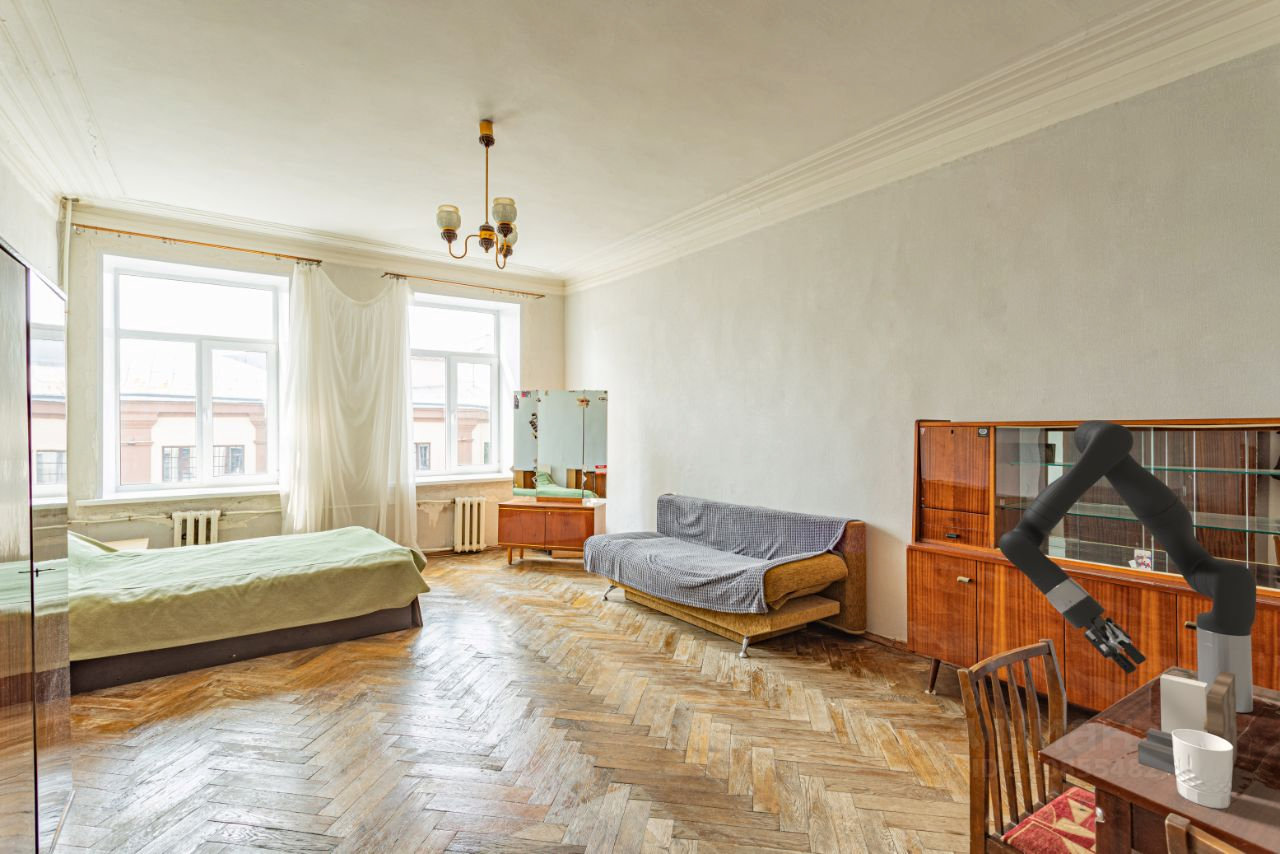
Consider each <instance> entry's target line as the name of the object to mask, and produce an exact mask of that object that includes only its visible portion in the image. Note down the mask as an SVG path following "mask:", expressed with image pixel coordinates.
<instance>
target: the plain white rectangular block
mask: <svg viewBox="0 0 1280 854" xmlns="http://www.w3.org/2000/svg"><path fill="white" fill-rule="evenodd" d="M1159 678H1160V679H1159V681H1160V682H1159V683H1160V685H1159V686H1160V718H1161V719H1160V720H1161V721H1160V724H1161V726H1160V727H1161V731H1163V732H1167V733H1170V734H1172V731H1174V730H1177V729H1190V730H1196V731H1201V732H1205V733H1208V731H1206V730H1204V727H1203V718H1207V693H1208V683H1204V682H1199V681H1198V680H1195V679H1194V680H1193V679H1190V678H1185V677H1180V676H1176V675H1172V674H1165V673H1162V674H1161V676H1160V677H1159Z"/></svg>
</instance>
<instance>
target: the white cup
mask: <svg viewBox="0 0 1280 854" xmlns="http://www.w3.org/2000/svg"><path fill="white" fill-rule="evenodd" d="M1172 743H1173V756H1174V765H1175V774H1174V775H1175V776H1176V777H1175V779H1176V791H1178V793H1179V795H1180V796H1182V797H1183V798H1185V799H1186V800H1187V801H1190V802H1191V803H1195V804H1197V805H1199V806H1202V807H1207V808H1211V809H1219V810H1220V809H1221V810H1222V809H1227V808H1229V807H1230V805H1231V791H1232V785H1233V783H1232V782H1233V769H1234V766H1233V746H1232V744H1230V743H1229V742H1228V741H1226V740H1224V739H1222V738H1220V737H1218V736H1215V735H1212V734H1209V733H1205V732H1201V731H1196V730H1190V729H1177V730H1174V731H1172Z"/></svg>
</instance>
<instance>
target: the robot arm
mask: <svg viewBox="0 0 1280 854" xmlns="http://www.w3.org/2000/svg"><path fill="white" fill-rule="evenodd" d="M1073 443H1074V446H1075V448H1076V449H1077V452H1079V453H1080V454H1081V455H1080V457H1079V458H1078V459H1077V461H1076V462H1075V463H1074V464H1073V465H1072V467H1070V468H1069V469H1068V470H1067V471H1065V472H1064V473H1063V474H1062V475H1061V476H1059V477H1057V478H1056V479H1055V480H1054V481H1052V482H1051V483H1049V484H1048V485H1047V486H1046V487H1044V488H1043V489H1042V490H1041V491H1040V492H1039V493H1038V494H1037V496H1036V497H1035V498H1034V499H1033V500H1032V501H1031V503H1030V504H1029V505H1028V506H1027V507H1026V509H1025V511H1024V512H1023V513H1022V516H1021V519H1020V521H1019V522H1018V523H1017V524H1016V526H1015V527H1014V528H1013V529H1012V530H1011V531H1007V532H1005V533H1004V534H1002V535H1001V536H1000V539H999V541H998V547H999V550H1000V553H1002V555H1003V556H1004V557H1005V558H1006V559H1007V560H1008V561H1009V562H1010V563H1011V564H1012V565H1013V566H1015V567H1016V568H1017V569H1018V570H1019V571H1020V572H1021V573H1022V574H1024V575H1025V576H1026V577H1027V578H1028V579H1029V580H1030V582H1031V583H1032V584H1033V585H1034V586H1035V588H1037V589H1038V590H1039V592H1040V593H1041V594H1043V595H1044V596H1045V598H1046V599H1047V600H1048V602H1049V603H1050V604H1051V605H1052V606H1053V608H1054V609H1056V610H1057V612H1059V613H1060V614H1061V615H1062V617H1064V618H1065V620H1066V621H1067V622H1068V623H1069V624H1070V625H1071V626H1072V627H1073V628H1074V629H1076V630H1080V629H1082V628H1085V629H1086V631H1085V632H1083V633H1082V635H1083V636H1084V637H1085V639H1086V640H1087V641H1088V642H1089V643H1091V645H1092V646H1093V647H1094V648H1095V649H1096V650H1097V651H1098V652H1099V653H1100V655H1102V657H1103V658H1104V659H1108V658H1109V659H1110V660H1113V661H1114V662H1115V663H1116V664H1117V665H1118V666H1119V667H1120V668H1121V669H1122V671H1124V672H1125V673H1126V674H1128V675H1129V674H1132V673H1133V672H1135V671H1136V670H1137V666H1136V665H1140V664H1142V663H1144V662H1145V661H1146V660H1147V657H1146V656H1145V655H1144V654H1143V653H1142V652H1141V651H1140V650H1139V649H1138V648H1137V647H1136V646H1135V645H1134V644H1133V641H1132V636H1131V635H1129V633H1127V632H1126V631H1125V630H1124V629H1123V628H1122V627H1121V626H1120V625H1119V624H1118V623H1117V622H1116V621H1114V620H1113V619H1112V618H1111V617H1110V616H1107V617H1105V618H1103V617H1102V615H1103V614H1104V613H1106V609H1105V608H1104V607H1103V606H1102V605H1101V604H1100V603H1099V601H1097V600H1096V599H1095V598H1094V597H1093V596H1092V595H1091V594H1090V593H1089V592H1087V590H1086V589H1084V588H1083V587H1082V585H1081V584H1079V583H1078V582H1077V581H1075V580H1074V579H1073V578H1071V576H1070V575H1069V574H1068V573H1067V572H1066V571H1065V570H1063V569H1062V568H1061V567H1060V565H1058V564H1057V563H1056V562H1054V561H1053V560H1051V559H1050V558H1049V557H1048V556H1047V555H1046V554H1045V553H1044V552H1043V550H1041V549H1040V547H1041V546H1042V544H1043V542H1045V540H1046V538H1047V537H1048V535H1049V534H1050V533H1051V532H1052V531H1053V530H1054V529H1055V527H1057V525H1058V524H1059V523H1060V522H1061V520H1063V518H1064V517H1065V516H1066V515H1067V513H1068V512H1069V510H1071V509H1072V507H1074V505H1075V504H1076V503H1077V501H1079V500H1080V499H1081V497H1082V496H1083V495H1084V494H1086V493H1087V492H1088V491H1089V490H1090V489H1091V488H1092V487H1093V486H1094V485H1095V484H1096V483H1097V482H1098V481H1099V480H1100V479H1102V478H1103V477H1105V479H1106V480H1107V481H1108V483H1110V485H1111V486H1112V488H1113V489H1114V491H1115V492H1116V493H1117V494H1118V496H1119V497H1120V498H1121V500H1122V501H1123V503H1125V505H1126V506H1127V507H1128V509H1130V511H1131V512H1132V514H1133V515H1134V516H1135V517H1136V519H1138V521H1139V522H1140V524H1142V526H1143V527H1144V528H1145V529H1146V530H1147V531H1148V532H1149V533H1150V535H1151V536H1152V537H1153V538H1154V539H1155V541H1156V542H1157V543H1158V544H1159V546H1160V547H1161V548H1162V549H1163V550H1164V552H1165V553H1166V554H1167V555H1168V557H1169V558H1170V559H1171V561H1172V563H1174V565H1175V567H1176V568H1177V570H1178V571H1179V573H1180V575H1181V576H1182V577H1183V579H1184V580H1185V582H1186V583H1187V584H1188V586H1189V587H1190V588H1191V589H1192V590H1193V591H1194V592H1196V593H1197V594H1199V595H1200V596H1203V597H1207V598H1210V599H1212V608H1211V610H1210V611H1206V612H1200V613H1198V614H1197V615H1196V645H1197V646H1196V647H1197V648H1196V649H1197V650H1196V651H1197V652H1196V653H1197V681H1199V682H1204V683H1208V692H1209V690H1210V688H1211V687H1212V685H1213V684H1214V682H1215V680H1216V679H1217V677H1218V675H1219V674H1220V672H1221V671H1223V672H1227V673H1232V674H1235V689H1236V713H1251V712H1253V711H1254V701H1253V700H1254V697H1253V695H1254V694H1253V690H1254V689H1253V664H1252V663H1253V661H1252V660H1253V659H1252V657H1253V656H1252V627H1253V626H1254V625H1253V624H1254V623H1255V620H1256V615H1257V613H1256V611H1257V610H1256V609H1257V583H1256V578H1255V575H1254V574H1253V571H1251V570H1250V569H1249V568H1247V567H1246V566H1244V565H1243V564H1238V563H1235V562H1231V561H1225V560H1221V559H1218V558H1216V557H1214V556H1212V555H1211V554H1210V553H1209V552H1208V551H1207V550H1206V549H1205V548H1204V547H1203V545H1201V544H1200V542H1199V541H1198V539H1197V538H1196V536H1195V534H1194V533H1195V532H1194V523H1193V518H1192V517H1193V516H1192V514H1191V512H1190V510H1189V509H1188V508H1187V506H1186V505H1185V504H1184V503H1183V502H1182V500H1181V499H1180V498H1179V496H1177V494H1176V493H1175V492H1174V491H1173V490H1172V489H1171V488H1170V487H1169V486H1168V485H1167V484H1166V483H1164V482H1163V481H1162V480H1161V479H1159V478H1158V477H1157V476H1156V475H1155V474H1153V473H1151V472H1150V471H1149V470H1147V469H1146V468H1145V467H1144V466H1142V465H1141V464H1140V463H1138V462H1137V461H1136V460H1135V458H1133V456H1132V455H1131V454H1130V452H1131V451H1132V449H1133V445H1134V436H1133V434H1132V432H1131V431H1130V430H1129V429H1128V428H1127V427H1126V426H1123V425H1122V424H1119V423H1115V422H1111V421H1110V422H1109V421H1105V420H1099V419H1097V420H1095V419H1093V420H1088V421H1087V420H1086V421H1084V422H1081V423H1080V424H1079V425H1078V426H1077V427H1076V428H1075V431H1074V433H1073ZM1120 649H1121V650H1123V652H1124V653H1125V654H1126V655H1127V656H1128V657H1129V658H1130V659H1131V660H1132V661H1133V662H1134V663H1135V664H1136V665H1135V664H1134V663H1133V662H1132V661H1131V660H1130V659H1129V658H1128V657H1127V656H1126V655H1125V654H1124V653H1122V651H1121V650H1120Z"/></svg>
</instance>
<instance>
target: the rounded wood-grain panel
mask: <svg viewBox="0 0 1280 854" xmlns="http://www.w3.org/2000/svg"><path fill="white" fill-rule="evenodd" d="M1203 727H1204V730H1206V731H1208V733H1209V734H1212V735H1215V736H1218V737H1220V738H1222V739H1224V740H1226V741H1228V742H1229V743H1230V744H1232V746H1233V767H1234V766H1235V764H1236V762H1237V758H1238V733H1237V728H1238V727H1237V712H1236V689H1235V674H1232V673H1227V672H1223V671H1221V672H1220V674H1219V675H1218V677H1217V679H1216V680H1215V682H1214V684H1213V685H1212V687H1211V688H1210V690H1209V692H1208V693H1207V718H1203ZM1137 754H1138V756H1137V757H1138V760H1137V761H1138V764H1140V765H1144V766H1148V767H1151V768H1154V769H1156V770H1161V771H1164V772H1167V773H1169V774H1173V775H1176V774H1175V765H1174V756H1173V743H1172V734H1170V733H1167V732H1163V731H1162V730H1160V729H1159V730H1158V729H1155V728H1152V727H1149V729H1148V730H1147V731H1146V739H1140V741H1139V742H1138V743H1137Z"/></svg>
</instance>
